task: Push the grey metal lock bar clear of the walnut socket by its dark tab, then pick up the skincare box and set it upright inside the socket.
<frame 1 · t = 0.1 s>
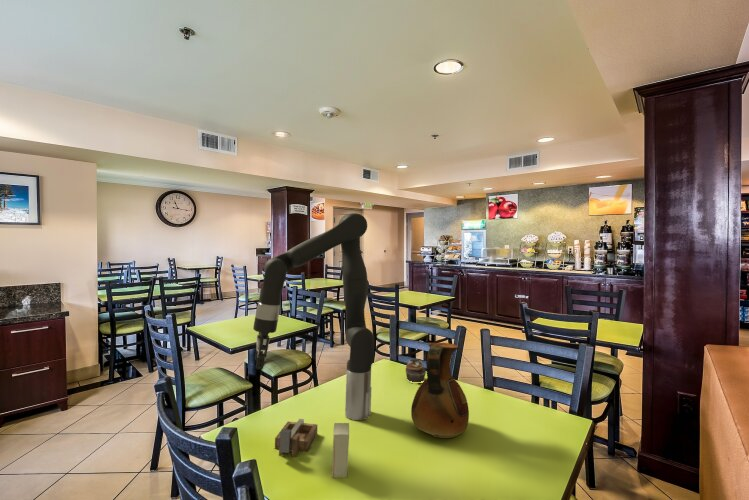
hand: (258, 364, 118), 22 cm above the table, tool pointing down, fingers open, 8 cm apart
ceramic pitcher: (439, 430, 123), on the table
dock: (296, 440, 113), on the table
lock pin: (293, 429, 109), point 6 cm above the table, slide at 0.0 cm
cupcake: (415, 381, 166), on the table
skincare box: (339, 471, 99), on the table
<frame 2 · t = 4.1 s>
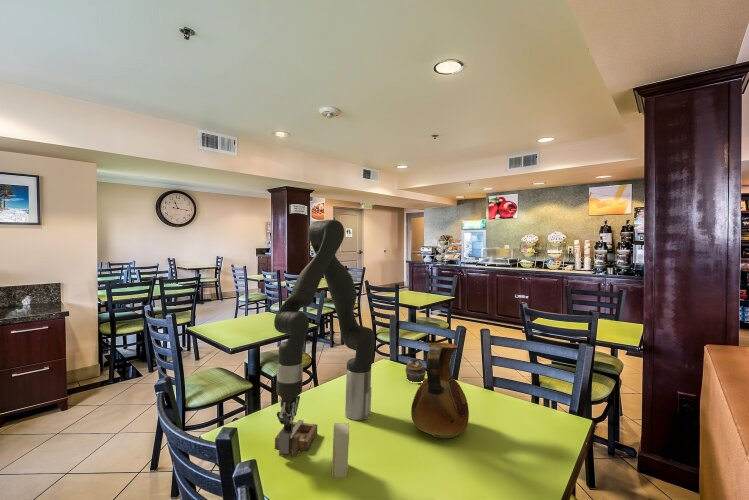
hand: (288, 434, 105), 6 cm above the table, tool pointing down, fingers closed
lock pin: (293, 429, 109), point 6 cm above the table, slide at 0.5 cm, touching gripper
everything else where it was.
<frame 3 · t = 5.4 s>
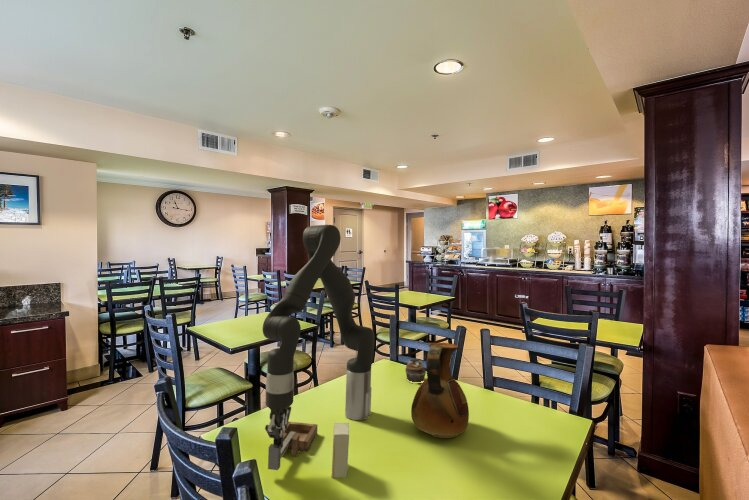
hand: (278, 448, 98), 6 cm above the table, tool pointing down, fingers closed
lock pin: (283, 443, 102), point 6 cm above the table, slide at 8.0 cm, touching gripper
everything else where it was.
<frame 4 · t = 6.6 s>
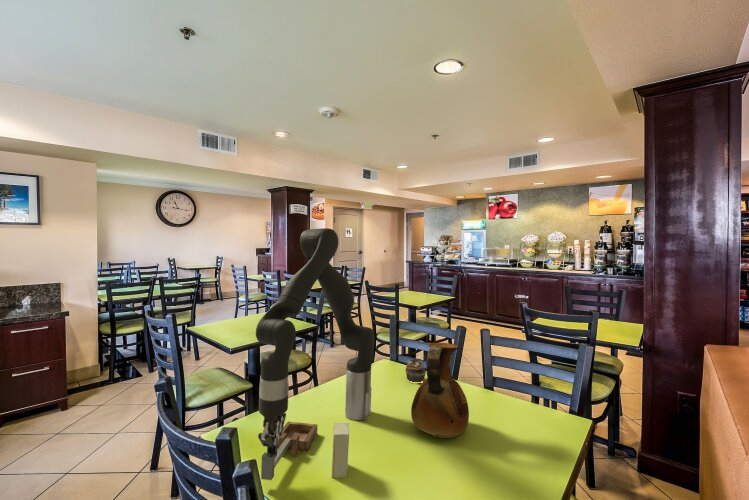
hand: (272, 457, 94), 6 cm above the table, tool pointing down, fingers closed
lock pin: (278, 451, 98), point 6 cm above the table, slide at 12.0 cm, touching gripper
everything else where it was.
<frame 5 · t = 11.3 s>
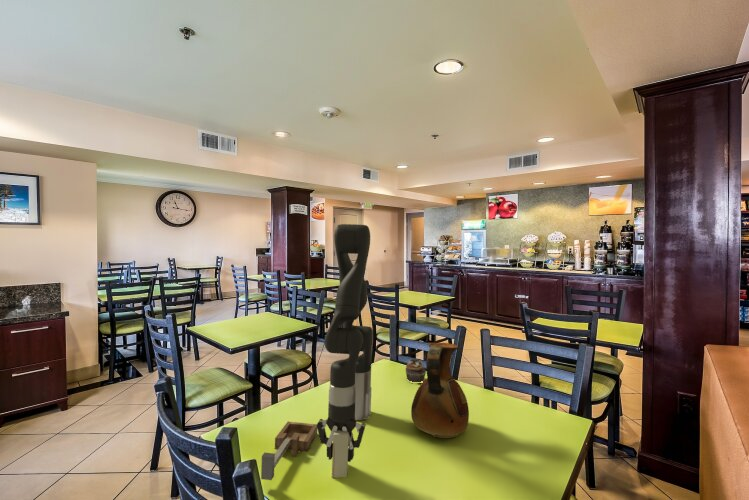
hand: (340, 458, 99), 3 cm above the table, tool pointing down, fingers closed on skincare box, 5 cm apart
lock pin: (278, 451, 98), point 6 cm above the table, slide at 12.0 cm
skincare box: (339, 471, 99), on the table, touching gripper
everything else where it was.
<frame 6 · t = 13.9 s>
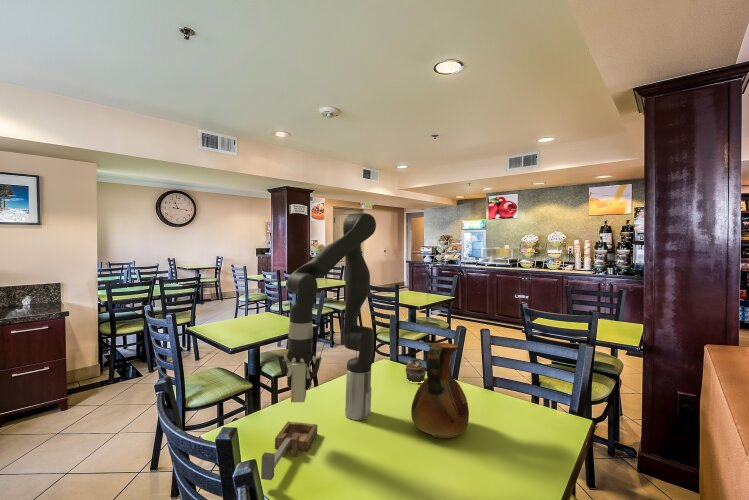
hand: (299, 387, 112), 17 cm above the table, tool pointing down, fingers closed on skincare box, 5 cm apart
skincare box: (298, 399, 112), point 14 cm above the table, touching gripper
everything else where it was.
when the fingers open (6 cm above the table, at t = 16.4 s): skincare box drops 2 cm, resting on dock.
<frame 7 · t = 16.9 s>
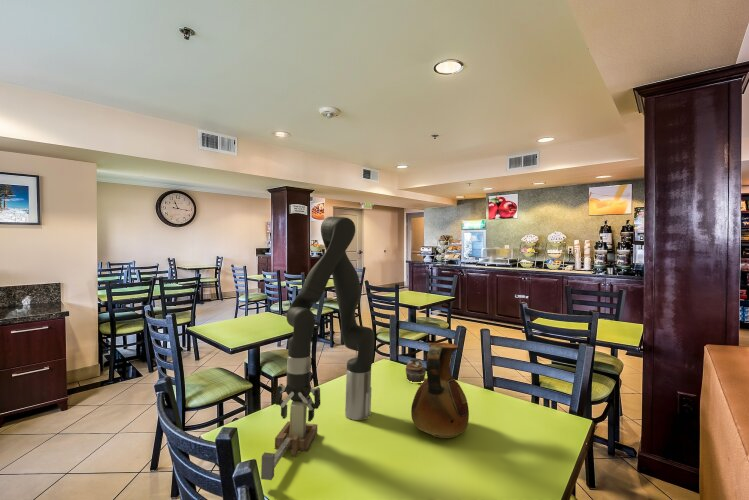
hand: (297, 419, 113), 7 cm above the table, tool pointing down, fingers open, 8 cm apart
skincare box: (297, 439, 113), point 1 cm above the table, touching dock
everything else where it was.
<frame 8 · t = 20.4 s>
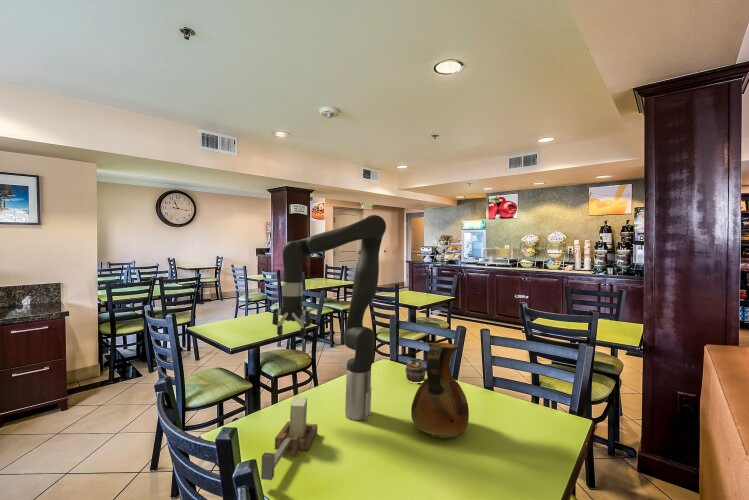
hand: (291, 336, 132), 28 cm above the table, tool pointing down, fingers open, 8 cm apart
nothing on the table moved.
at the end: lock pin slide at 12.0 cm; skincare box inside the target area on the dock (0.3 cm from its centre), point 0.6 cm above the dock's base; skincare box tilted 0° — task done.
